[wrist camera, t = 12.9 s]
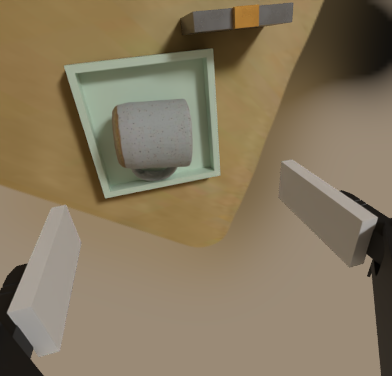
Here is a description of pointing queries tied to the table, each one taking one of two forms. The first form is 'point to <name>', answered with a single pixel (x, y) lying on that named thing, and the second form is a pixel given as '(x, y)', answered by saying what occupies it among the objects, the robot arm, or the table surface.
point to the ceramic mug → (153, 137)
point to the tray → (139, 92)
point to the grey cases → (236, 18)
